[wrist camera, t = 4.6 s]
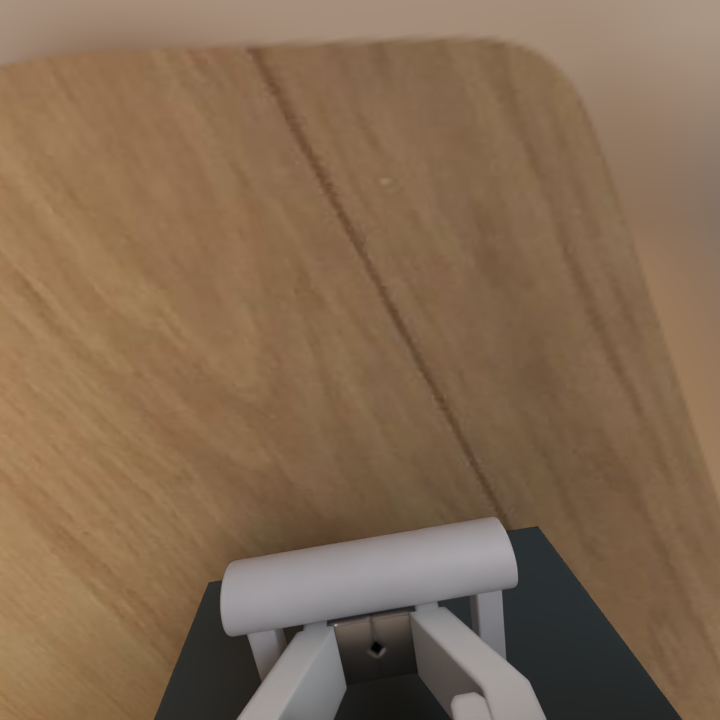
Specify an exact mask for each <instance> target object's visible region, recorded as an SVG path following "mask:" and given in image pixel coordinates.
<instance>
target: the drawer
mask: <svg viewBox="0 0 720 720" xmlns="http://www.w3.org/2000/svg"><path fill="white" fill-rule="evenodd" d="M435 601H437V603H438V606H439V607H446V608H447V609H448V610H449V611H450V612H452V613H453V614H454V615H455V616H456V617H457V618H458V619H459V620H461V621H462V622H463V623H464V624H465V625H466V626H467V627H469V628H470V629H471V630H472V631H473V632H474V633H475V634H476V635H478V636H479V637H480V638H481V639H482V640H483V641H484V642H486V643H487V644H488V645H489V646H490V647H491V648H492V649H493V650H495V651H496V652H497V653H498V654H499V655H500V656H501V657H503V658H504V659H505V660H506V661H507V662H508V663H509V664H510V665H512V666H513V667H514V668H515V669H516V670H517V671H518V672H520V673H521V674H522V675H523V676H524V677H525V678H526V679H527V680H529V682H530V684H531V686H532V689H533V691H534V693H535V695H536V697H537V700H538V702H539V704H540V706H541V709H542V711H543V713H544V715H545V717H546V720H682V719H681V717H680V716H679V715H678V713H677V712H676V711H675V709H674V708H673V707H672V705H671V704H670V703H669V701H668V700H667V699H666V697H665V696H664V695H663V693H662V692H661V691H660V689H659V688H658V687H657V685H656V684H655V683H654V681H653V680H652V678H651V677H650V676H649V674H648V673H647V672H646V670H645V669H644V668H643V666H642V665H641V664H640V662H639V661H638V660H637V658H636V657H635V656H634V654H633V653H632V652H631V650H630V649H629V648H628V646H627V645H626V644H625V642H624V641H623V640H622V638H621V637H620V636H619V634H618V633H617V632H616V630H615V629H614V628H613V626H612V625H611V624H610V622H609V621H608V620H607V618H606V617H605V616H604V614H603V613H602V612H601V610H600V609H599V608H598V606H597V605H596V604H595V602H594V601H593V600H592V598H591V597H590V595H589V594H588V593H587V591H586V590H585V589H584V587H583V586H582V585H581V583H580V582H579V581H578V579H577V578H576V577H575V575H574V574H573V573H572V571H571V570H570V569H569V567H568V566H567V565H566V563H565V562H564V561H563V559H562V558H561V557H560V555H559V554H558V553H557V551H556V550H555V549H554V547H553V546H552V545H551V543H550V542H549V541H548V539H547V538H546V537H545V535H544V534H543V533H542V531H541V530H540V529H539V527H538V526H536V527H530V528H524V529H518V530H512V531H507V532H506V531H505V529H504V527H503V525H502V524H501V522H500V521H499V520H498V519H497V518H496V517H486V518H480V519H475V520H469V521H463V522H457V523H451V524H445V525H440V526H434V527H428V528H422V529H416V530H410V531H404V532H399V533H393V534H387V535H381V536H375V537H369V538H363V539H358V540H352V541H346V542H340V543H334V544H328V545H323V546H317V547H311V548H305V549H299V550H293V551H287V552H282V553H276V554H270V555H264V556H258V557H252V558H247V559H241V560H235V561H232V562H231V563H230V564H229V565H228V566H227V568H226V570H225V573H224V576H223V580H221V581H215V582H210V583H208V586H207V588H206V591H205V593H204V596H203V598H202V601H201V603H200V606H199V608H198V611H197V613H196V616H195V618H194V621H193V623H192V626H191V628H190V631H189V633H188V636H187V638H186V641H185V643H184V646H183V648H182V651H181V653H180V656H179V658H178V661H177V663H176V666H175V668H174V671H173V673H172V676H171V678H170V681H169V683H168V686H167V688H166V691H165V693H164V696H163V698H162V701H161V703H160V706H159V708H158V711H157V713H156V716H155V718H154V720H237V718H238V717H239V715H240V714H241V712H242V711H243V709H244V708H245V707H246V705H247V704H248V702H249V701H250V699H251V698H252V697H253V695H254V694H255V692H256V691H257V689H258V688H259V686H260V685H261V684H262V682H263V681H264V679H265V678H266V676H267V675H268V673H269V672H270V671H271V669H272V668H273V666H274V665H275V663H276V662H277V661H278V659H279V658H280V656H281V655H282V653H283V652H284V650H285V649H286V648H287V646H288V645H289V643H290V642H291V640H292V639H293V637H294V636H295V635H296V633H297V632H300V631H303V628H304V624H309V623H315V622H320V621H326V620H332V619H338V618H343V617H349V616H355V615H361V614H366V613H372V612H378V611H384V610H389V609H395V608H401V607H407V606H412V605H418V604H424V603H430V602H435ZM334 720H452V719H451V718H450V716H449V715H448V714H447V712H446V711H445V710H444V708H443V707H442V706H441V704H440V703H439V702H438V700H437V699H436V698H435V696H434V695H433V694H432V692H431V691H430V690H429V689H428V687H427V686H426V685H425V683H424V682H423V681H422V679H421V678H420V677H419V675H418V673H415V674H408V675H401V676H394V677H387V678H380V679H375V680H371V681H366V682H361V683H356V684H352V685H347V689H346V692H345V694H344V697H343V699H342V701H341V704H340V706H339V708H338V711H337V713H336V716H335V718H334Z"/></svg>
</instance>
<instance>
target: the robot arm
mask: <svg viewBox="0 0 720 720" xmlns="http://www.w3.org/2000/svg"><path fill="white" fill-rule="evenodd" d="M415 673H418V675H419V677H420V678H421V679H422V681H423V682H424V683H425V685H426V686H427V687H428V689H429V690H430V691H431V692H432V694H433V695H434V696H435V698H436V699H437V700H438V702H439V703H440V704H441V706H442V707H443V708H444V710H445V711H446V712H447V714H448V715H449V716H450V718H451V719H452V720H546V717H545V715H544V713H543V711H542V709H541V706H540V704H539V702H538V700H537V697H536V695H535V693H534V691H533V689H532V686H531V684H530V682H529V680H527V679H526V678H525V677H524V676H523V675H522V674H521V673H520V672H518V671H517V670H516V669H515V668H514V667H513V666H512V665H510V664H509V663H508V662H507V661H506V660H505V659H504V658H503V657H501V656H500V655H499V654H498V653H497V652H496V651H495V650H493V649H492V648H491V647H490V646H489V645H488V644H487V643H486V642H484V641H483V640H482V639H481V638H480V637H479V636H478V635H476V634H475V633H474V632H473V631H472V630H471V629H470V628H469V627H467V626H466V625H465V624H464V623H463V622H462V621H461V620H459V619H458V618H457V617H456V616H455V615H454V614H453V613H452V612H450V611H449V610H448V609H447V608H446V607H439V606H438V603H437V601H435V602H430V603H424V604H418V605H412V606H407V607H401V608H395V609H389V610H384V611H378V612H372V613H366V614H361V615H355V616H349V617H343V618H338V619H332V620H326V621H320V622H315V623H309V624H304V628H303V631H300V632H297V633H296V635H295V636H294V637H293V639H292V640H291V642H290V643H289V645H288V646H287V648H286V649H285V650H284V652H283V653H282V655H281V656H280V658H279V659H278V661H277V662H276V663H275V665H274V666H273V668H272V669H271V671H270V672H269V673H268V675H267V676H266V678H265V679H264V681H263V682H262V684H261V685H260V686H259V688H258V689H257V691H256V692H255V694H254V695H253V697H252V698H251V699H250V701H249V702H248V704H247V705H246V707H245V708H244V709H243V711H242V712H241V714H240V715H239V717H238V718H237V720H334V718H335V716H336V713H337V711H338V708H339V706H340V704H341V701H342V699H343V697H344V694H345V692H346V689H347V685H352V684H356V683H361V682H366V681H371V680H375V679H380V678H387V677H394V676H401V675H408V674H415Z"/></svg>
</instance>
